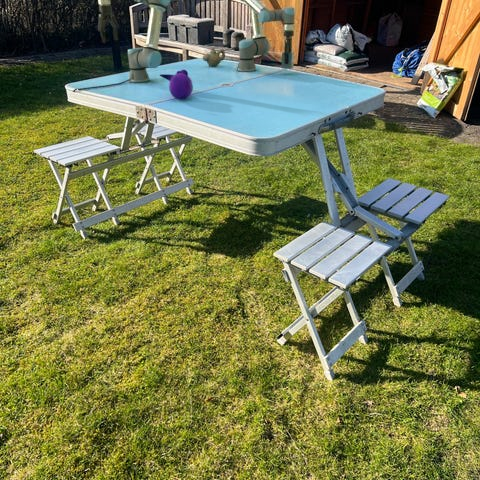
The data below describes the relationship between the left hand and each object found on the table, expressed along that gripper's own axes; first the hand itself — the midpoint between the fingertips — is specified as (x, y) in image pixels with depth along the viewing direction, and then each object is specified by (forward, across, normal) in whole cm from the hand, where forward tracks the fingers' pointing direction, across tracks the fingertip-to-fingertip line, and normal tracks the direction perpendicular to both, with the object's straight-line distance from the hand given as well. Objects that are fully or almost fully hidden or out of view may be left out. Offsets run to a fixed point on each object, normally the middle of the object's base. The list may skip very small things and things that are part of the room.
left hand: (110, 41), depth 294 cm
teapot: (+32, +109, -26) cm, 117 cm away
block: (+27, +88, -97) cm, 134 cm away
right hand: (+23, +88, -97) cm, 133 cm away
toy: (+32, -5, -49) cm, 59 cm away
